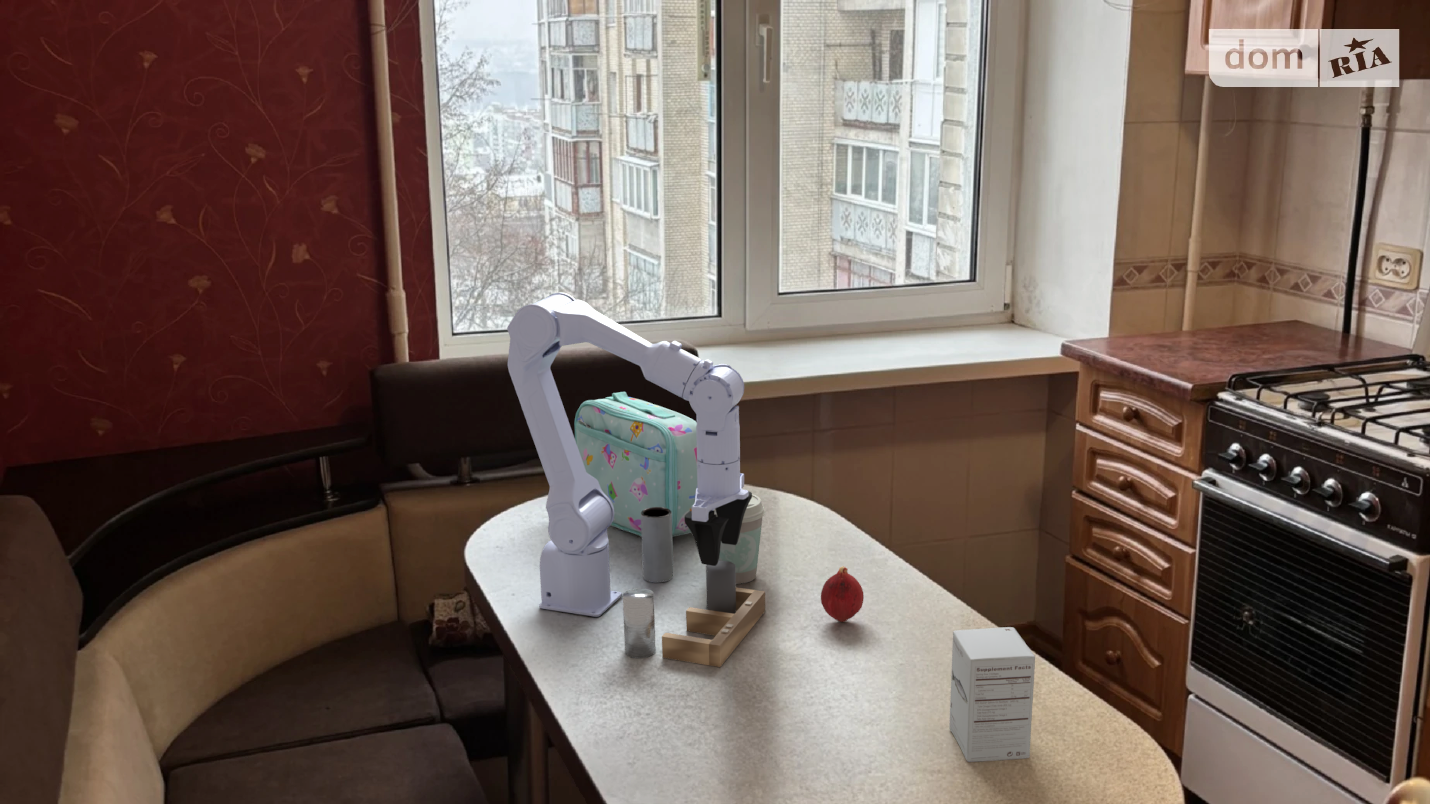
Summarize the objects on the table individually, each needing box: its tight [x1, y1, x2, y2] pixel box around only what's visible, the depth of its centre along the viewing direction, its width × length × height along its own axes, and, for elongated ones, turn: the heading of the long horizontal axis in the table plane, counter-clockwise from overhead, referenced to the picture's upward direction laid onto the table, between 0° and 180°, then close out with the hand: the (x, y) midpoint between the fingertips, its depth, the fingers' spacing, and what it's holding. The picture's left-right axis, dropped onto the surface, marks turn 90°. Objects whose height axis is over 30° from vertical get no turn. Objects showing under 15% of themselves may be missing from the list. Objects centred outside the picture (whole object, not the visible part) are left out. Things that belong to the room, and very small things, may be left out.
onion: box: [820, 565, 864, 623], centre depth 172 cm, size 6×6×8 cm
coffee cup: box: [713, 493, 766, 585], centre depth 187 cm, size 8×9×12 cm
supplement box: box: [948, 626, 1036, 763], centre depth 141 cm, size 7×7×13 cm
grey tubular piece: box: [641, 507, 674, 583], centre depth 188 cm, size 4×4×10 cm
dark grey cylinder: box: [705, 561, 737, 614], centre depth 173 cm, size 4×4×8 cm
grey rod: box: [622, 588, 656, 659], centre depth 165 cm, size 4×4×8 cm
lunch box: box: [574, 391, 697, 538], centre depth 208 cm, size 27×10×21 cm, turn 43°
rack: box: [661, 586, 766, 668], centre depth 170 cm, size 8×18×3 cm, turn 159°
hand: (719, 553), depth 172 cm, fingers open, 7 cm apart
